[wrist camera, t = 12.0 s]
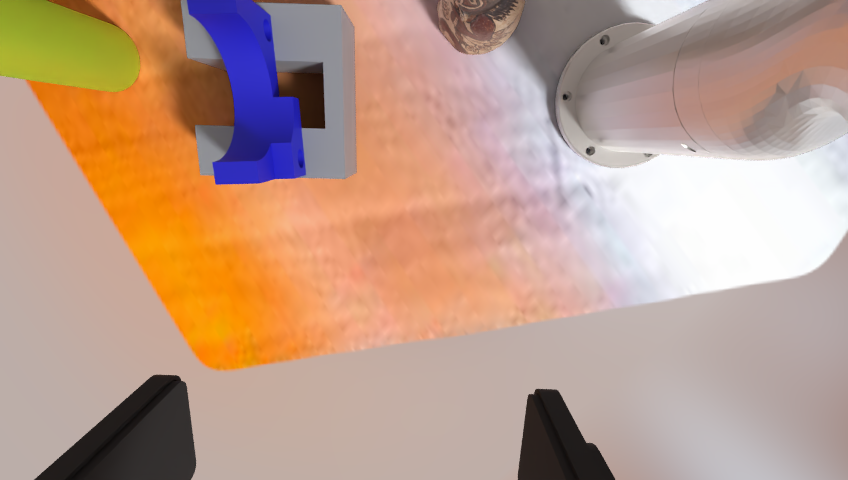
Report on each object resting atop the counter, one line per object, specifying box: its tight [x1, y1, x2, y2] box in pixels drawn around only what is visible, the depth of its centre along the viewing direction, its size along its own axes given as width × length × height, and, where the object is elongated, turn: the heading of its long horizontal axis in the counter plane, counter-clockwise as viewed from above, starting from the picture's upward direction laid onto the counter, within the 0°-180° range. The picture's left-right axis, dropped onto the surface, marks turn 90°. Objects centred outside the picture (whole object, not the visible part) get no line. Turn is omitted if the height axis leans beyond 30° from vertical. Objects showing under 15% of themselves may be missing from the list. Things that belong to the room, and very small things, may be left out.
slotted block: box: [181, 0, 357, 179], centre depth 34 cm, size 12×13×6 cm
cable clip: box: [187, 0, 306, 184], centre depth 28 cm, size 12×4×6 cm, turn 1°
